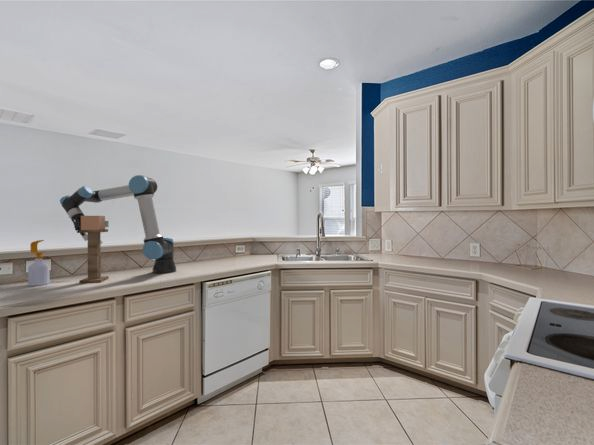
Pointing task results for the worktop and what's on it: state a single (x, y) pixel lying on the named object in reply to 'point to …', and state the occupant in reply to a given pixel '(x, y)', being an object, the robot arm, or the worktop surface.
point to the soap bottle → (38, 268)
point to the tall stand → (94, 257)
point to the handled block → (93, 223)
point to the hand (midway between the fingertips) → (94, 241)
